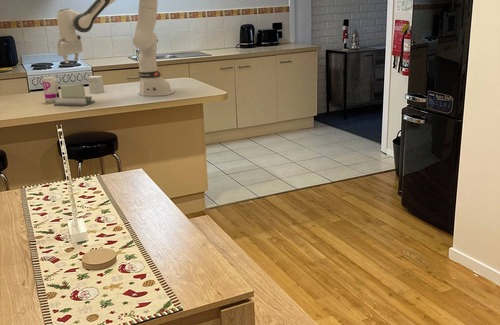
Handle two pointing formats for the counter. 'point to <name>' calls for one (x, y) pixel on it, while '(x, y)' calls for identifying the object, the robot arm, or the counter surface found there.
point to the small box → (96, 84)
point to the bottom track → (74, 101)
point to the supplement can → (50, 89)
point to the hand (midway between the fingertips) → (71, 62)
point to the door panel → (72, 91)
